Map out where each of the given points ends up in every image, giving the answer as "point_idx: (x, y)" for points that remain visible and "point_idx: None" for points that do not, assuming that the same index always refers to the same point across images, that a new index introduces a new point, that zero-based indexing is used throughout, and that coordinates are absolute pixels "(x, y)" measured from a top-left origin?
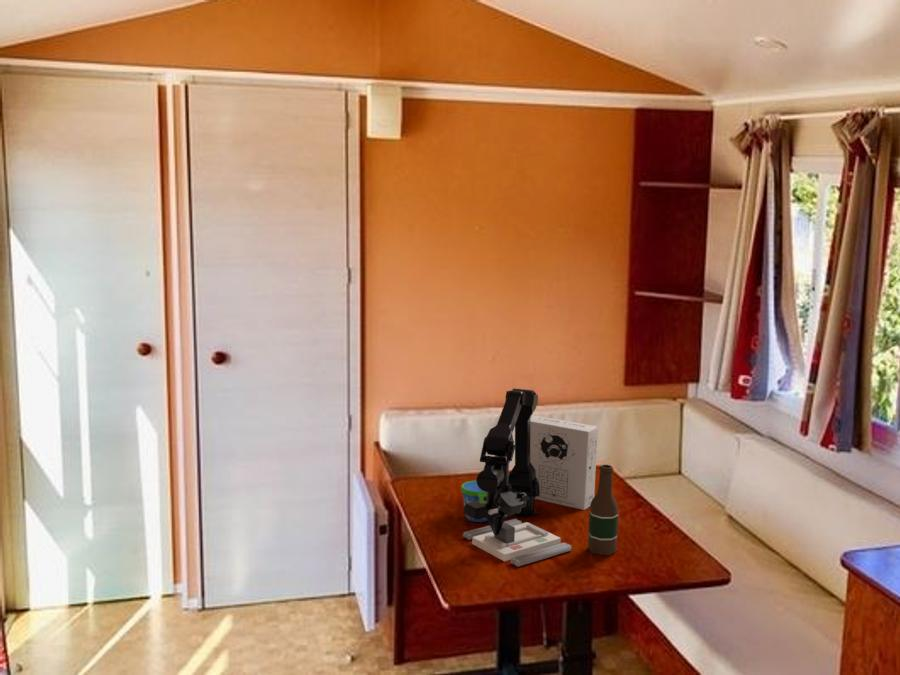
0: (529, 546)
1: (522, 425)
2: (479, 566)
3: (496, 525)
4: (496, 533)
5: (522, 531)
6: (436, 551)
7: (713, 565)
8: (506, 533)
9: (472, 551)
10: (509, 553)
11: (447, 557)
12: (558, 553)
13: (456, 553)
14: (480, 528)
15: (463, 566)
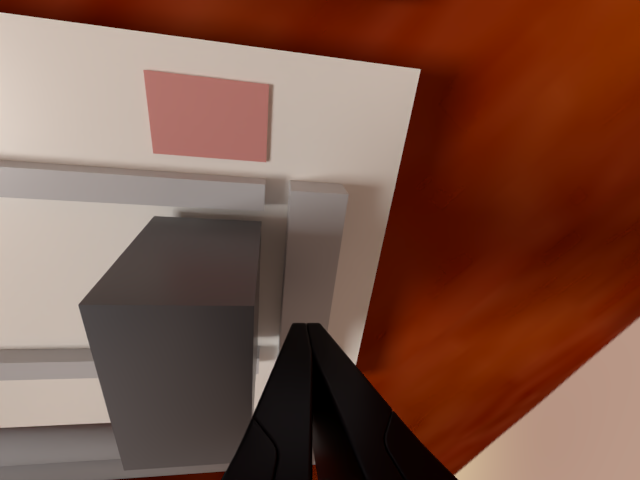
0: (51, 38)
1: None
2: (571, 133)
3: (373, 411)
4: (325, 334)
5: None
6: (520, 384)
7: None
8: (252, 274)
9: (411, 312)
10: (360, 62)
11: (552, 321)
12: None
13: (485, 333)
14: (214, 467)
15: (616, 196)
